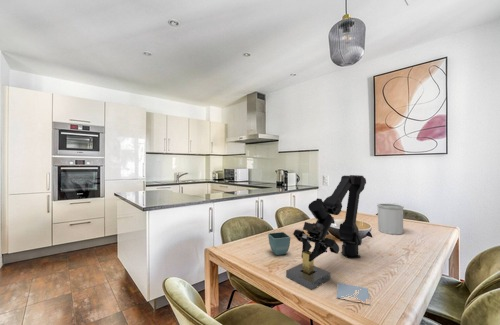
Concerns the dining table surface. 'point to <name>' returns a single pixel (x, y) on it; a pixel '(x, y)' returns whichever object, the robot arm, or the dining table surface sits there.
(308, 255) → the brass peg
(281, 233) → the flower pot
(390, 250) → the dining table surface
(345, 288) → the rubber mat
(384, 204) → the utensil holder
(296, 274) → the socket plate
